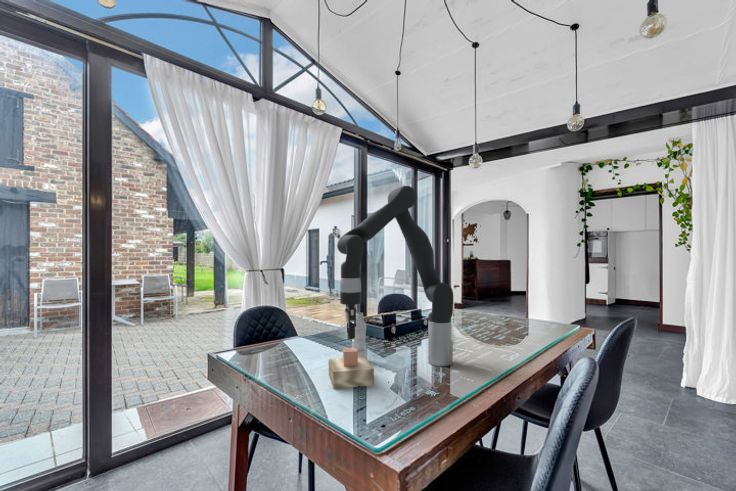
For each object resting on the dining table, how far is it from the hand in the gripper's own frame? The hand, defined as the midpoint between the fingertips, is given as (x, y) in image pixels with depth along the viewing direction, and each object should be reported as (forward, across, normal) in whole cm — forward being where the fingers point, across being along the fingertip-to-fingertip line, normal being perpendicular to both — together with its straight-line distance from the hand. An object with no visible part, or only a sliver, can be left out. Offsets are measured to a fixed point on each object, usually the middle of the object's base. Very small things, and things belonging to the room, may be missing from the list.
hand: (350, 335), depth 123 cm
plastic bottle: (+16, +20, -5) cm, 26 cm away
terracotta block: (+10, 0, 0) cm, 10 cm away
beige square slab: (+16, 0, 0) cm, 16 cm away
